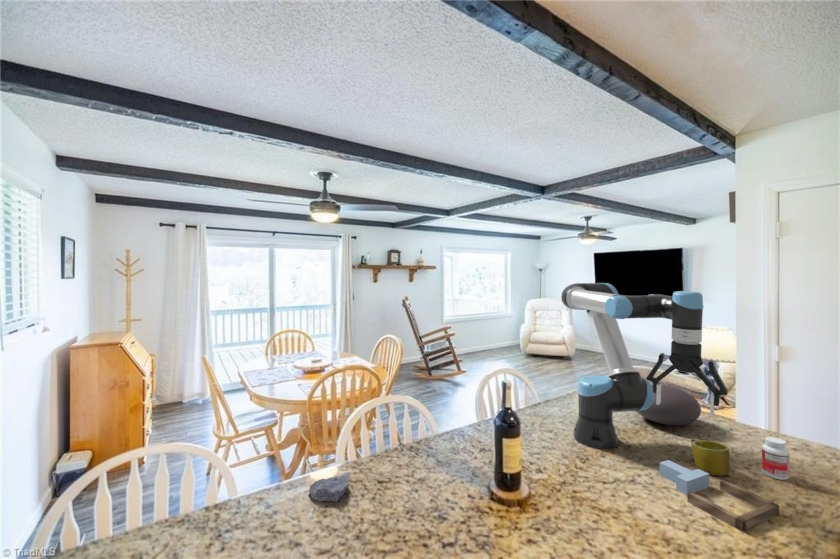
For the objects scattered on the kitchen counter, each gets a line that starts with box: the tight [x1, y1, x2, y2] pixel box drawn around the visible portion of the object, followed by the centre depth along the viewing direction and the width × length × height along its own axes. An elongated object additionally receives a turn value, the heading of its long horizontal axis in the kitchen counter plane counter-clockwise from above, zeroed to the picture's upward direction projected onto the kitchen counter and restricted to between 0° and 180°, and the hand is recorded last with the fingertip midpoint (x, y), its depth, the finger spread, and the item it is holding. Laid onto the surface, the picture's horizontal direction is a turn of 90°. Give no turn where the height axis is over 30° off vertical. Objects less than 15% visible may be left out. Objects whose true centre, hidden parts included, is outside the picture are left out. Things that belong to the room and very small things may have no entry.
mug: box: [690, 438, 731, 477], centre depth 118 cm, size 12×10×10 cm
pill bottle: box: [761, 436, 790, 481], centre depth 113 cm, size 6×6×11 cm
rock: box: [308, 471, 351, 503], centre depth 106 cm, size 12×5×10 cm
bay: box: [686, 479, 780, 532], centre depth 98 cm, size 13×16×2 cm
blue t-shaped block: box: [659, 459, 710, 496], centre depth 110 cm, size 10×10×4 cm
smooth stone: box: [636, 384, 702, 426], centre depth 155 cm, size 25×25×15 cm
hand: (684, 409), depth 114 cm, fingers open, 13 cm apart
